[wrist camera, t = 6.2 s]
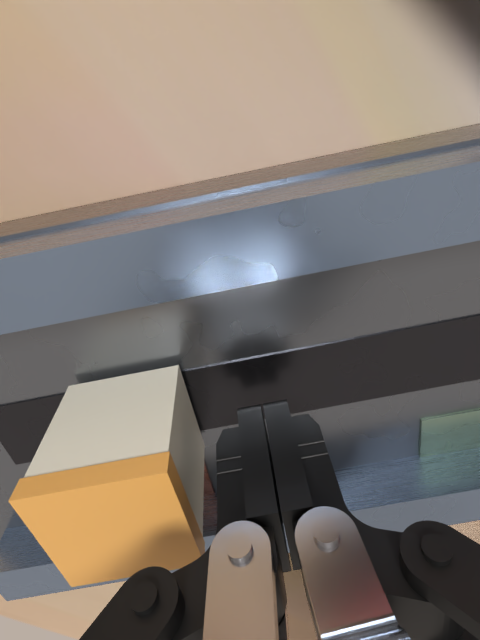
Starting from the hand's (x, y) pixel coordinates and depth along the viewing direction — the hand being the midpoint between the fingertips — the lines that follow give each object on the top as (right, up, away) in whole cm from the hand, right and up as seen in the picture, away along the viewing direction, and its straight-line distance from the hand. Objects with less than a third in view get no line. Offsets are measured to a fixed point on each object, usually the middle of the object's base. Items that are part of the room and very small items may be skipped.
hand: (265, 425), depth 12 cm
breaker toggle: (-4, 0, +1) cm, 4 cm away
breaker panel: (0, +2, +3) cm, 4 cm away
